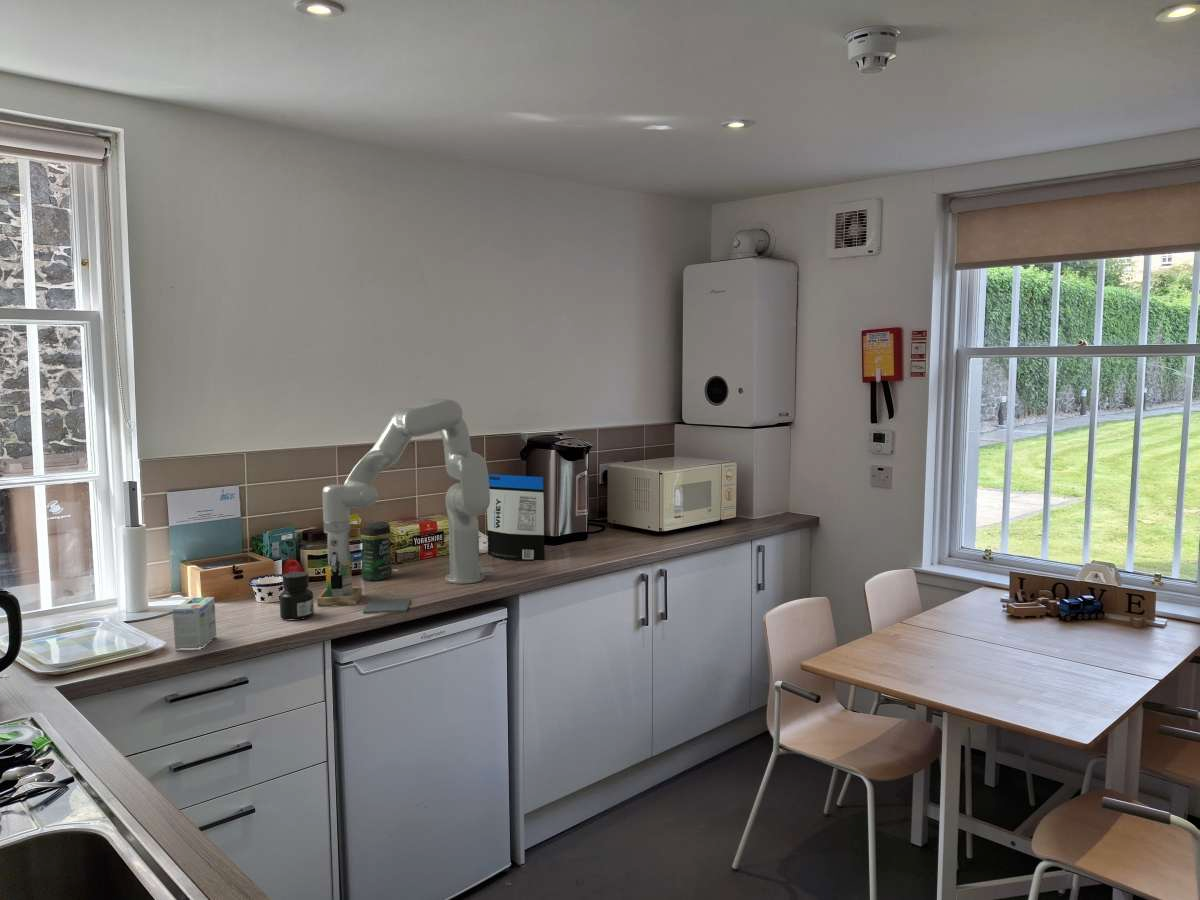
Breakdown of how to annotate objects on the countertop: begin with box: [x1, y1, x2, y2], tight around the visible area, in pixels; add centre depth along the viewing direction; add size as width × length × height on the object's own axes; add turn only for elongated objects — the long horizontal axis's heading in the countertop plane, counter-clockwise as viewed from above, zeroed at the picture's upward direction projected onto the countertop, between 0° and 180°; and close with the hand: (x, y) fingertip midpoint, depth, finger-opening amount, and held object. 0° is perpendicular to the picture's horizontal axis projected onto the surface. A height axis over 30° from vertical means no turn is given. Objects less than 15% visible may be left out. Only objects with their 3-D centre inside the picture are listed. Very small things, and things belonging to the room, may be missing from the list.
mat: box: [362, 598, 412, 614], centre depth 250 cm, size 12×12×1 cm
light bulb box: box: [172, 596, 217, 650], centre depth 218 cm, size 11×7×11 cm, turn 5°
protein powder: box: [486, 473, 546, 562], centre depth 311 cm, size 10×24×30 cm, turn 63°
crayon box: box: [325, 558, 353, 597], centre depth 256 cm, size 7×3×12 cm, turn 145°
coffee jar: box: [360, 521, 393, 582], centre depth 283 cm, size 10×8×19 cm
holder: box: [316, 586, 363, 607], centre depth 257 cm, size 11×11×2 cm
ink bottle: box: [279, 571, 315, 620], centre depth 240 cm, size 10×9×12 cm
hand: (339, 584), depth 256 cm, fingers closed on crayon box, 7 cm apart
